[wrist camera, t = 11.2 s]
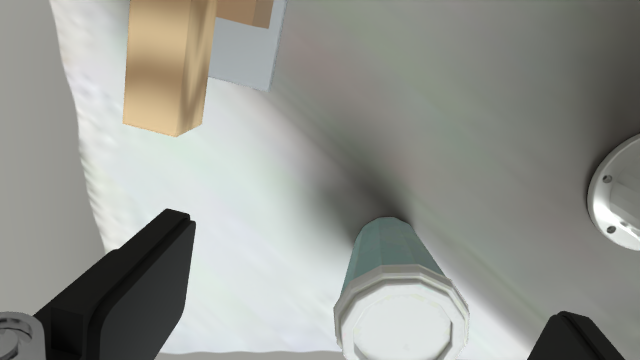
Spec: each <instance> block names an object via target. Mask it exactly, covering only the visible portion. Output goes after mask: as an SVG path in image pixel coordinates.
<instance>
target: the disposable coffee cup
mask: <svg viewBox="0 0 640 360" xmlns="http://www.w3.org/2000/svg"><path fill="white" fill-rule="evenodd" d="M469 316H470V313H469V310H468V304H467V303H466V301H465V300H464V298H463V297H462V295H461V294H460V292H459V291H458V289H457V288H456V286H455V285H454V283H453V282H452V280H451V279H449V278H447V277H446V276H445V275H444V273H443V272H442V270H441V269H440V268H439V266H438V265H437V263H436V262H435V260H434V259H433V257H432V256H431V255H430V253H429V252H428V250H427V249H426V247H425V246H424V244H423V243H422V242H421V240H420V239H419V237H418V236H417V234H416V233H415V231H414V230H413V229H412V227H411V226H410V225H409V224H407V223H405V222H403V221H401V220H399V219H397V218H394V217H383V218H377V219H375V220H373V221H371V222H370V223H368V224H366V225H365V226H363V228H362V230H361V231H360V233H359V235H358V236H357V238H356V240H355V244H354V248H353V251H352V255H351V259H350V262H349V266H348V269H347V273H346V277H345V280H344V284H343V288H342V291H341V295H340V298H339V300H338V301H337V303H336V304H335V306H334V322H335V335H336V337H337V344H338V345H339V347H340V348H341V349H342V354H343V355H344V357H345V358H346V359H347V360H455V359H456V358H457V357H458V355H459V354H460V353H461V351H462V350H463V348H464V347H465V345H466V344H467V343H468V331H469Z"/></svg>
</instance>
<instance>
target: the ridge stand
mask: <svg viewBox="0 0 640 360" xmlns="http://www.w3.org/2000/svg"><path fill="white" fill-rule="evenodd" d="M286 4H287V0H218V4H217V12H216V19H215V27H214V35H213V42H212V50H211V57H210V65H209V72H208V77H211V78H215V79H219V80H223V81H227V82H231V83H234V84H238V85H242V86H246V87H250V88H254V89H258V90H262V91H266V92H269V91H270V89H271V83H272V78H273V73H274V68H275V62H276V57H277V52H278V46H279V41H280V36H281V31H282V25H283V20H284V15H285V10H286Z"/></svg>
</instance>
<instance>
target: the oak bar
mask: <svg viewBox="0 0 640 360" xmlns="http://www.w3.org/2000/svg"><path fill="white" fill-rule="evenodd" d="M217 4H218V0H130V11H129V27H128V43H127V60H126V76H125V92H124V109H123V124H126V125H130V126H134V127H138V128H141V129H145V130H149V131H153V132H157V133H161V134H165V135H169V136H173V137H177V136H179V135H181V134H183V133H185V132H187V131H189V130H191V129H193V128H195V127H197V126H199V125H201V124H202V117H203V110H204V102H205V95H206V87H207V80H208V72H209V65H210V57H211V50H212V42H213V35H214V27H215V19H216V12H217Z"/></svg>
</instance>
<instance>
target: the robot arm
mask: <svg viewBox="0 0 640 360" xmlns="http://www.w3.org/2000/svg"><path fill="white" fill-rule="evenodd" d="M587 203H588V211H589V214H590V217H591V220H592V221H593V223H594V225H595V226H596V228H597V229H598V230H599V231H600V232H601V233H602V234H603V235H604V236H606V237H607V238H608V239H610V240H611V241H612V242H614V243H616V244H618V245H620V246H622V247H624V248H628V249H632V250H636V251H640V134H638V135H636V136H633V137H631V138H629V139H628V140H626V141H625V142H623V143H622V144H620V145H619V146H617V147H616V148H615V149H614V150H613V151H612V152H611V153H609V154H608V155H607V156H606V158H605V159H604V160H603V161H602V163H601V164H600V165H599V166H598V168H597V170H596V172H595V173H594V175H593V177H592V180H591V183H590V186H589V189H588V197H587ZM195 229H196V222H195V221H192V220H190V215H189V214H187V213H183V212H179V211H176V210H172V209H165V210H164V211H163V212H161V213H160V214H159V215H158V216H157V217H156V218H154V219H153V220H152V221H151V222H150V223H148V224H147V225H146V226H145V227H144V228H143V229H141V230H140V231H139V232H138V233H137V234H136V235H134V236H133V237H132V238H131V239H130V240H129V241H127V242H126V243H125V244H124V245H123V246H122V247H120V248H119V249H114V250H112V251H110V252H109V253H107V254H106V255H105V256H104V257H103V258H102V259H100V260H99V261H98V262H97V263H96V264H94V265H93V266H92V267H91V268H90V269H88V270H87V271H86V272H85V273H84V274H82V275H81V276H80V277H79V278H78V279H76V280H75V281H74V282H73V283H72V284H70V285H69V286H68V287H67V288H66V289H64V290H63V291H62V292H61V293H60V294H58V295H57V296H56V297H55V298H54V299H52V300H51V301H50V302H49V303H48V304H46V305H45V306H44V307H43V308H42V309H40V310H39V311H38V312H37V313H36V314H34V315H33V316H30V315H28V314H24V313H19V312H0V360H154V359H155V357H156V356H157V354H158V352H159V351H160V349H161V348H162V346H163V345H164V343H165V342H166V340H167V339H168V337H169V335H170V334H171V332H172V331H173V329H174V328H175V326H176V325H177V323H178V322H179V320H180V318H181V316H182V313H183V310H184V306H185V300H186V293H187V285H188V278H189V271H190V264H191V257H192V250H193V243H194V236H195ZM527 360H625V359H624V358H623V357H622V355H621V354H620V353H619V352H618V351H617V350H616V348H615V347H614V346H613V345H612V344H611V342H610V341H609V340H608V339H607V338H606V337H605V335H604V334H603V333H602V332H601V331H600V329H599V328H598V327H597V326H596V325H595V324H594V322H593V321H592V320H591V319H590V318H588V317H586V316H582V315H578V314H574V313H570V312H566V311H561V312H559V313H558V314H557V315H553V316H551V317H550V319H549V320H548V322H547V324H546V326H545V328H544V329H543V331H542V333H541V335H540V337H539V339H538V341H537V342H536V344H535V346H534V348H533V350H532V352H531V353H530V355H529V357H528V359H527Z"/></svg>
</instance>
